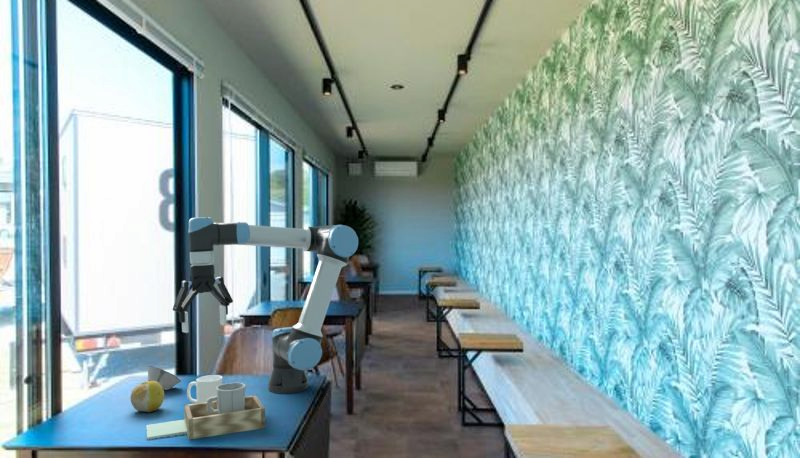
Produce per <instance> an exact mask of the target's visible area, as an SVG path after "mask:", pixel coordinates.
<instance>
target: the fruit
mask: <svg viewBox="0 0 800 458" xmlns="http://www.w3.org/2000/svg"><path fill="white" fill-rule="evenodd" d="M164 399H165V391H164V389H163V388H162V386H161V385H160V383H158V382H156V381H148V380H146V381H144V382H140V383H139V384H138V385H136V386H135V387H134V388H133V389H132V390H131V393H130V403H131V405H132V408H134V410H136V411H138V412H147V413H152V412H155V411H157V410H159V409H160V408H161V406H162V404H163V402H164Z"/></svg>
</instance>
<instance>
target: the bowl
mask: <svg viewBox="0 0 800 458" xmlns="http://www.w3.org/2000/svg"><path fill="white" fill-rule="evenodd" d="M147 381H156V382H158V383H160V385H161V386H162V388H163V390H165V391H168V390H170V389H172V388H173V387H175V386H176V385H178V384H180V383H181V380H180V379H179V377H177V376H176V375H175V374H173V373H171V372H170V371H167V370H164V369H163V368H159V367H156V366H152V365H149V366H147Z"/></svg>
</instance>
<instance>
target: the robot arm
mask: <svg viewBox="0 0 800 458" xmlns="http://www.w3.org/2000/svg"><path fill="white" fill-rule="evenodd" d="M188 245H189V247H188V248H189V263H190V266H189V268H190V269H189V272H190V274H189V276H190V281H188V280H182V281H181V285H180V290H179V292H178V294H177V297H176V300H174V301H175V302H174V305H173V306H172V311H173V312H178V316H179V317H178V321H179V323H181V332H182V333H185V334H188V333H189V329H190V327H189V313H188V311H187V309H188V308H189V307H190V305H191V303H192V302H193V301H194V299H195V297H197V295H198V294H203V293H211V294H212V296H213V297H215V299H216V301H218V302H219V303H220V304H221V305H219V307H218V308H219V309H218V310H219V325H220V326H227V315H228V314H229V308H228V307H229V306H230V304H232V303H233V302H234V300H233V297H232V295H231V294H230V291H229V290H228V288H227V286H226V285H225V281H224V277H223V276H216V277H215V273H216V272H215V264H213V263H215V255H214V253H215V252H214V246H230V245H231V246H235V245H239V246H253V247H270V248H271V247H272V248H274V247H275V248H288V249H290V248H291V249H302V250H303V251H304V252H309V253H310V252H312V253H316V256H317V258H318V264H317V266H316V270H315V272H314V275H313V278H312V280H311V284H310V287H309V290H308V293H307V296H306V298H305V302H304V303H303V308H302V310H301V314H300V315H299V319H298V322H297V323H296V324H294V325H292V326H289V327H280V328H275V329H273V331H272V335H271V339H272V340H271V342H272V344H271V345H272V347H271V348H272V351H271V352H272V370H271V373H270V376H269V379H268V383H267V389H268V391H269V392H271V393H274V394H294V393H299V392H303V391H305V390H308V388H309V385H310V384H309V379H308V375H307V373H306V371H308V370H311V369H313V368H314V367H316V365H318V363H319V362H320V361H321V360H322V359H321V358H322V356H323V349H322V346H321V344H322V340H323V337H324V335H323V333H322V327H323V324H324V321H325V319H326V315H327V312H328V310H329V307H330V303H331V300H332V297H333V294H334V290H335V288H336V285H337V282H338V279H339V276H340V273H341V270H342V268H344V267H346V266H347V264H348V262H349V259H350V257H351V256H353V255H354V254H355V253H356V251H357V250H358V246H359V237H358V235H357V233H356V231H355V230H354V229H353V227H350V226H348V225H343V224H336V225H335V224H334V225H333V224H330V225H329V224H328V225H327V224H326V225H321V226H320V225H319V226H305V227H304V228H298V227H297V228H295V227H284V226H283V227H282V226H281V227H280V226H269V225H268V226H267V225H257V224H256V225H255V224H253V225H252V224H249V223H248V222H243V221H241V222H240V221H236V222H214V221H213V218H212V217H208V216H207V217H191V218H189V221H188ZM215 284H217V287H218V289H219V291H220V292H219V291H218V289H217V288H216V287H215ZM190 287H191V289H190V290H189V288H190ZM188 291H189V293H188Z"/></svg>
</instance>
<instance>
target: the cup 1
mask: <svg viewBox="0 0 800 458" xmlns="http://www.w3.org/2000/svg"><path fill="white" fill-rule="evenodd" d="M195 380H196V381H191V382H190V383H188V385H187V391H186V396H187V397H186V398H187V399H188V401H189V402H190V403H191V404H196V403H203V402H207V399H208V398H209V397H213V396H216V387H217V386H218V385H221V384H223V376H222V375H219V374H210V375H203V376H202V375H201V376H200V377H197V378H196V379H195ZM192 386H195V387H196V388H195V389H196V399H195V398H192V396H191V390H192Z"/></svg>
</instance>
